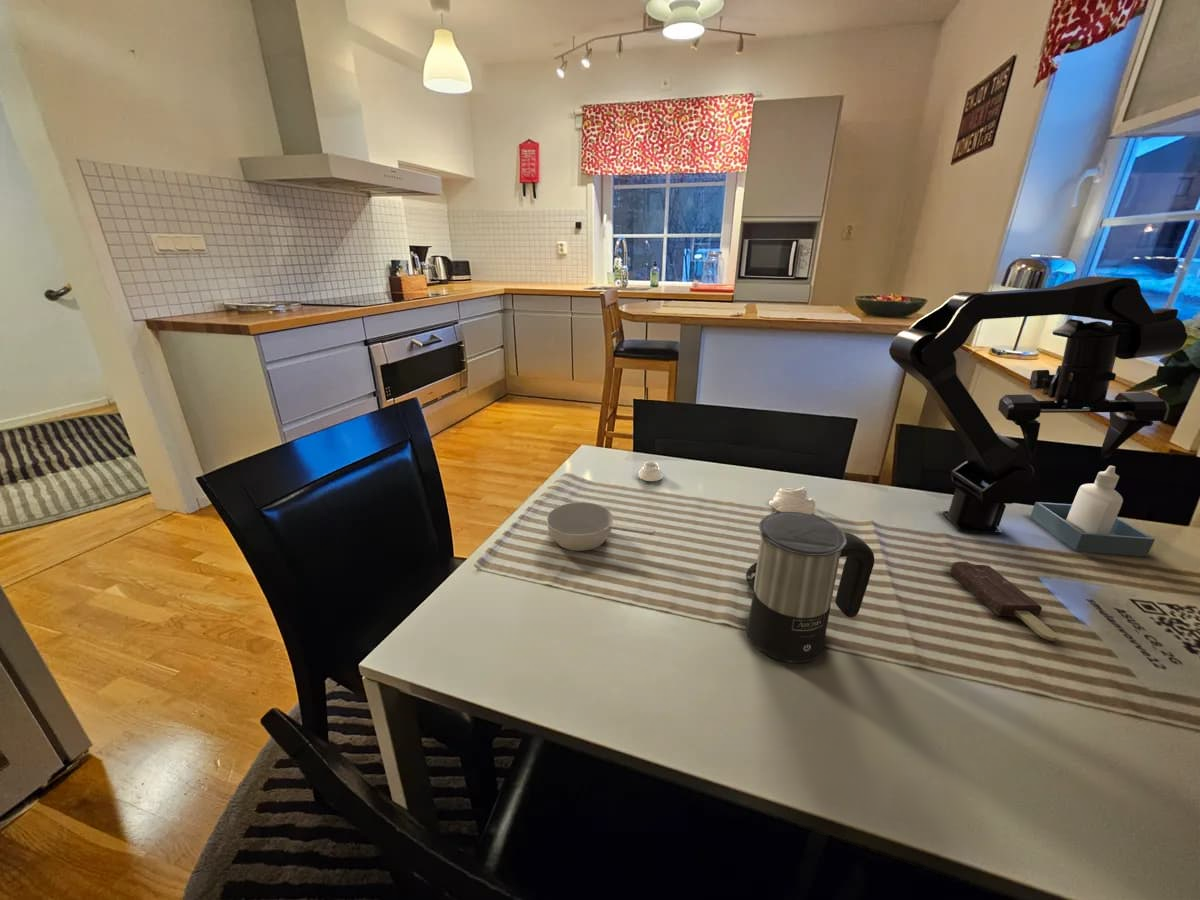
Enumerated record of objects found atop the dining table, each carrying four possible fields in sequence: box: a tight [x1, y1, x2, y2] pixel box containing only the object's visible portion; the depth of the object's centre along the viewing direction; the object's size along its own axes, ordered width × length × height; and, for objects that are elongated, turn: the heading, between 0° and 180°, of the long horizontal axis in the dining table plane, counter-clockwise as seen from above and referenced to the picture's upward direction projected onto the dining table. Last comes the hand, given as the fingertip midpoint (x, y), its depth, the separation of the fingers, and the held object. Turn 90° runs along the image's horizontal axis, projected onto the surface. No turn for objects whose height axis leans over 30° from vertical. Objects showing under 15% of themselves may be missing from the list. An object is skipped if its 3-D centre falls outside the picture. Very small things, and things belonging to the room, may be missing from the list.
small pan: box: [546, 501, 656, 552], centre depth 79 cm, size 11×18×4 cm, turn 68°
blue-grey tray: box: [1029, 501, 1156, 557], centre depth 82 cm, size 10×11×3 cm
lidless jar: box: [638, 461, 664, 482], centre depth 102 cm, size 5×3×5 cm
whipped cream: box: [768, 486, 817, 515], centre depth 89 cm, size 8×7×5 cm
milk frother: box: [745, 511, 875, 664], centre depth 61 cm, size 14×16×15 cm
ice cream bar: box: [949, 561, 1058, 642], centre depth 65 cm, size 5×2×15 cm
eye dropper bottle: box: [1066, 465, 1124, 535], centre depth 80 cm, size 4×6×12 cm
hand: (1066, 456), depth 80 cm, fingers open, 9 cm apart
